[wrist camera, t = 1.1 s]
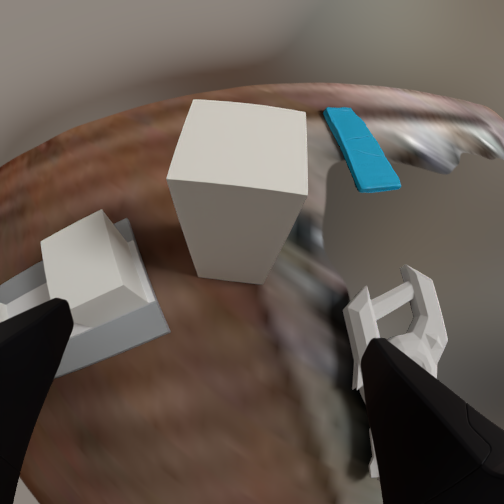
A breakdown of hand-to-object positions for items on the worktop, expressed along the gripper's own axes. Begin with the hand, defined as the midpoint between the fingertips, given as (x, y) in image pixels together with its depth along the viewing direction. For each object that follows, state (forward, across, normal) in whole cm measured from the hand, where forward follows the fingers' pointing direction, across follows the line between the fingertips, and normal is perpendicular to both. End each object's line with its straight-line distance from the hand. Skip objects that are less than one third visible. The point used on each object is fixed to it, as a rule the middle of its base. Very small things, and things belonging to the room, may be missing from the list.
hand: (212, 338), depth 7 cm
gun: (+9, -15, +11) cm, 21 cm away
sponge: (+25, -12, -5) cm, 28 cm away
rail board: (+9, +15, +10) cm, 20 cm away
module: (+15, 0, +4) cm, 15 cm away
